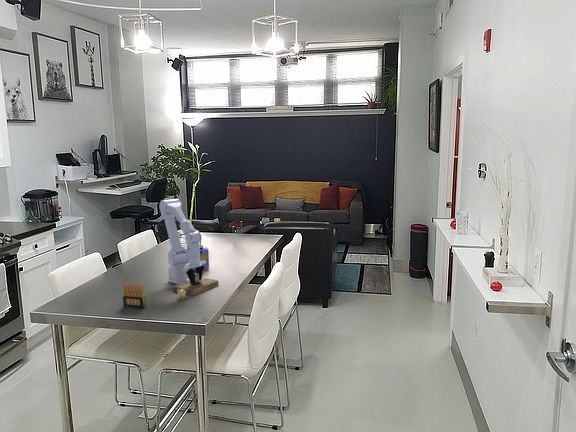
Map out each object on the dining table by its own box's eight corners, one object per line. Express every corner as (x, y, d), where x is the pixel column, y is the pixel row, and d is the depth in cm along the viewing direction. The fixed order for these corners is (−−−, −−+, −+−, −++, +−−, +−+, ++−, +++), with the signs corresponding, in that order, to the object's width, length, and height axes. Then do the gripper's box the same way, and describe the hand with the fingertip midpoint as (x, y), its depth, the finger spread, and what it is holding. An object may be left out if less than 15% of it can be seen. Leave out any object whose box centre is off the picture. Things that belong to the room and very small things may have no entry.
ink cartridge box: (192, 271, 264) (191, 247, 262) (191, 269, 269) (189, 245, 267) (209, 269, 268) (208, 245, 265) (208, 267, 273) (206, 243, 270)
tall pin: (191, 288, 235) (190, 273, 234) (195, 286, 238) (194, 271, 237) (196, 289, 234) (195, 274, 232) (201, 287, 237) (200, 272, 235)
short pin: (176, 299, 220) (176, 290, 219) (182, 297, 223) (181, 288, 222) (182, 300, 218) (181, 291, 218) (187, 298, 221) (187, 289, 221)
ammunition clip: (146, 306, 211) (143, 281, 209) (143, 308, 210) (141, 282, 208) (125, 305, 214) (123, 280, 212) (123, 306, 213) (120, 281, 211)
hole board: (173, 291, 232) (172, 286, 232) (198, 281, 247) (197, 276, 247) (194, 295, 225) (193, 290, 224) (218, 285, 240) (218, 280, 239)
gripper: (189, 259, 225) (191, 286, 227) (210, 253, 237) (211, 278, 239) (179, 258, 229) (181, 284, 231) (199, 251, 241) (201, 276, 243)
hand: (195, 281), depth 235 cm, fingers open, 4 cm apart
